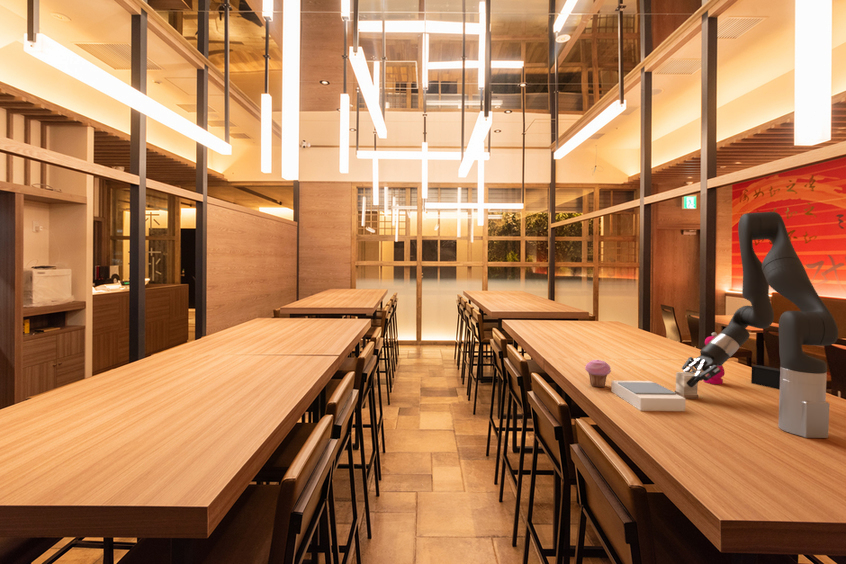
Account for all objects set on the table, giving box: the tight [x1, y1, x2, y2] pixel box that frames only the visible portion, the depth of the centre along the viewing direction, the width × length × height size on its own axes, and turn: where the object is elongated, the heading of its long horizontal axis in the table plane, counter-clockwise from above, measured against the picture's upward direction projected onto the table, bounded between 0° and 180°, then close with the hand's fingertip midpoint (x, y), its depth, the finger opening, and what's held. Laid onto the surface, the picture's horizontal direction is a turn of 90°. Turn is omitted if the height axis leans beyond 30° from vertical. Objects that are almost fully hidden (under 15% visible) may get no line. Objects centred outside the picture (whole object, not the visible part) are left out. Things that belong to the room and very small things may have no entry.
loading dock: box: [610, 379, 687, 412], centre depth 135 cm, size 20×14×4 cm
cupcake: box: [584, 359, 612, 388], centre depth 152 cm, size 9×9×10 cm
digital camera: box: [750, 364, 780, 390], centre depth 153 cm, size 10×5×7 cm, turn 27°
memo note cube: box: [674, 371, 699, 400], centre depth 140 cm, size 5×5×8 cm
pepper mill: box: [702, 331, 725, 385], centre depth 157 cm, size 7×7×20 cm
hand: (684, 383), depth 140 cm, fingers closed on memo note cube, 4 cm apart
